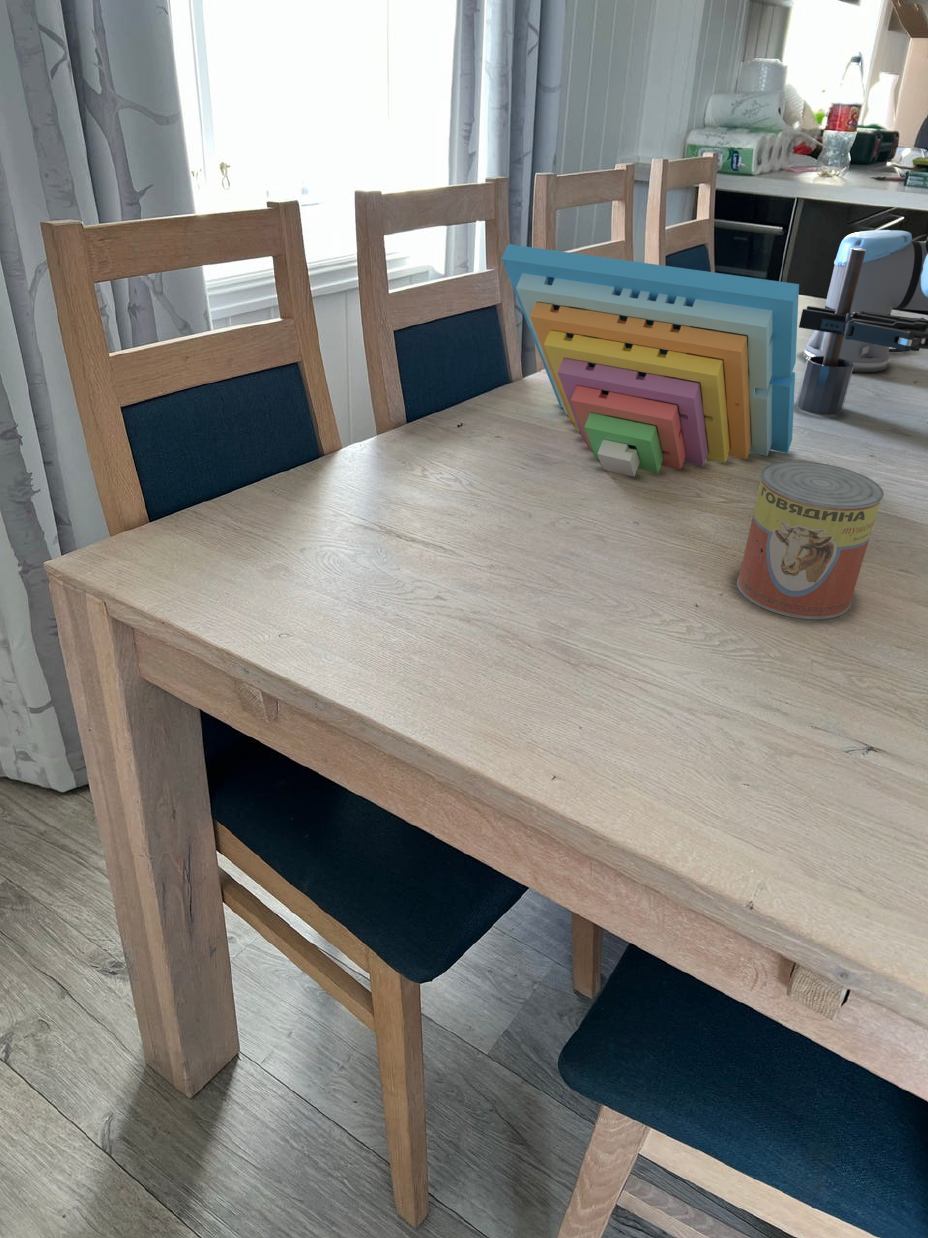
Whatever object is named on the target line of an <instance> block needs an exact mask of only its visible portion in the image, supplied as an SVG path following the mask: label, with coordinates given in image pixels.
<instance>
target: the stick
mask: <svg viewBox="0 0 928 1238" xmlns="http://www.w3.org/2000/svg"><path fill="white" fill-rule="evenodd" d="M865 252H866V250H865V249H860V248H851V249H850V252H849V256H848V260H847V264H846V268H845V272H844V277H843V281H842V285H841V289H840V293H839V297H838V301H837V305H836V309H835V314H840V315H847V313H850V312H851V308H852V304H853V300H854V296H855V292H856V288H857V284H858V280H859V276H860V272H861V268H862V264H863V260H864V256H865ZM843 339H844V335H841V334H835V333H830V334H829V338H828V342H827V346H826V350H825V355H824V359H823V363H822V365H825V366H832V367H837V363H838V359H839V355H840V351H841V347H842V343H843Z"/></svg>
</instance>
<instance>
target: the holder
mask: <svg viewBox="0 0 928 1238" xmlns="http://www.w3.org/2000/svg"><path fill="white" fill-rule="evenodd" d="M823 359H824V356H810V357H808V358H807V360H806V359H805V363H804V368H803V373H802V377H801V381H800V386H799V389H798V394H797V398H796V403H795V406H796V407H797V408H798V409H800V410H802V411H804V412H807V413H811V414H816V415H822V416H823V415H824V416H835V415H836V416H837V415H839V414H841V413H842V412H843V409H844V405H845V401H846V398H847V394H848V390H849V386H850V382H851V379H852V375H853V372H852V371H853V367H854V364H853V363H852V362H850V361H848V360H845V359H841V358H839V359H838V363H837V367H832V366H825V365H822V363H823Z"/></svg>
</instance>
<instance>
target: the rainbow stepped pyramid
mask: <svg viewBox="0 0 928 1238" xmlns="http://www.w3.org/2000/svg"><path fill="white" fill-rule="evenodd" d="M501 261H502V263H503V266H504V269H505V271H506V273H507V276H508V278H509V281H510V284H511V286H512V288H513V292H514V294H515V296H516V299H517V301H518V304H519V306H520V309H521V311H522V314H523V316H524V317H523V318H524V320H525V322H526V324H527V327H528V329H529V331H530V334H531V336H532V339H533V342H534V344H535V347H536V349H537V352H538V354H539V357H540V359H541V362H542V364H543V368H544V370H545V372H546V374H547V377H548V380H549V382H550V385H551V387H552V390H553V392H554V395H555V397H556V401H557V402H558V403H557V404H558V405H559V407H561V408H562V409H563V412H564V414H565V415H567V417H568V419H569V421H570V423H573V425H574V428H575V430H576V431H577V432H579V434H580V437H581V439H582V440H583V441H585V443H586V445H587V447H588V450H591V451H592V453H593V455H594V458H595V460H599V463H600V466H601V468H602V470H603V471H609V472H613V473H617V474H621V475H625V476H630V477H633V478H634V477H636V474H637V472H638V470H642V471H648V472H651V473H656V474H659V472H660V469H661V467H662V466H664V467H668V468H673V469H677V470H682V468H683V466H684V463H688V464H692V465H697V466H701V467H704V466H705V463H706V460H711V461H715V462H719V463H724V464H726V461H727V459H728V457H733V458H738V459H742V460H747V459H748V456H749V454H750V453H751V454H755V455H758V456H759V455H760V456H764V457H768V455H769V452H770V451H775V452H780V453H785V454H788V453H789V450H790V447H791V445H792V441H793V433H794V432H793V430H794V408H795V407H794V405H795V387H796V385H795V384H796V372H795V371H794V369H795V365H796V363H797V362H796V361H797V339H798V318H799V317H798V316H799V295H800V294H799V293H800V284H799V283H794V282H785V281H778V280H770V279H763V278H756V277H749V276H742V275H735V274H729V273H728V274H727V273H719V272H713V271H706V270H699V269H691V268H686V267H685V268H684V267H678V266H677V267H676V266H670V265H663V264H657V263H656V264H655V263H648V262H641V261H634V260H625V259H618V258H612V257H604V256H599V255H598V256H596V255H591V254H583V253H575V252H568V251H562V250H561V251H560V250H553V249H547V248H540V247H539V248H538V247H532V246H525V245H517V244H510V243H508V244H507V246H506V248H505V251H504V253H503V255H502V258H501Z"/></svg>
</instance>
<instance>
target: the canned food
mask: <svg viewBox="0 0 928 1238" xmlns="http://www.w3.org/2000/svg"><path fill="white" fill-rule="evenodd" d="M884 493H885V492H884V490H883V488H882V487H881V486H880V484H878V483H877V482H876V481H874V480H873V479H871V478H869V477H867V476H866V475H863V474H861V473H860V472H856V471H853V470H851V469H848V468H844V467H840V466H837V465H832V464H828V463H820V462H814V461H813V462H812V461H801V460H800V461H799V460H794V461H781V462H780V461H779V462H776V463H772V464H769V465H767V466H765V467H764V468H763V469H762V471H761V473H760V482H759V487H758V491H757V495H756V501H755V504H754V509H753V512H752V517H751V521H750V527H749V530H748V536H747V540H746V544H745V548H744V553H743V557H742V562H741V565H740V570H739V575H738V577H737V580H736V586H737V588H738V590H739V592H740V593H741V595H743V597H744V598H746V599H747V600H748V601H749V602H751V603H753V604H754V605H755V606H758V607H759V608H762V609H764V610H766V611H769V612H772V613H774V614H778V615H781V616H785V617H789V618H794V619H800V620H813V621H814V620H828V619H833V618H837V617H840V616H842V615H844V614H846V613H847V612H848V611H849V610H850V608H851V606H852V599H853V595H854V592H855V588H856V585H857V581H858V578H859V575H860V572H861V568H862V565H863V562H864V558H865V555H866V551H867V548H868V546H869V545H868V544H869V542H870V538H871V534H872V532H873V528H874V525H875V521H876V518H877V515H878V511H879V508H880V505H881V501H882V500H883V498H884V495H885V494H884Z"/></svg>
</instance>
